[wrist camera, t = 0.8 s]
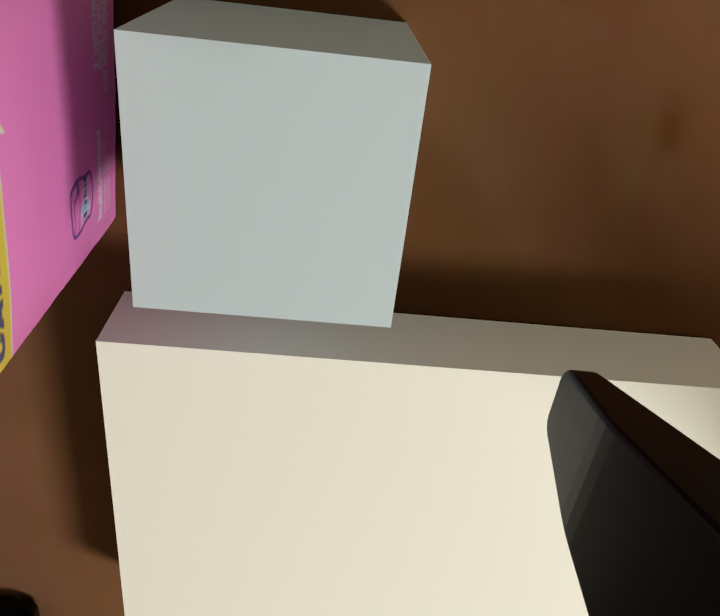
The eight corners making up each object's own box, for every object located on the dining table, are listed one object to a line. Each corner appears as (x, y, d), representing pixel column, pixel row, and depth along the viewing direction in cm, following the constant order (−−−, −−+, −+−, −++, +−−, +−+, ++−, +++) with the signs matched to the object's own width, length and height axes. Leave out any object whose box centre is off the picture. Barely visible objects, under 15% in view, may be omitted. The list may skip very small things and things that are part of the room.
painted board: (146, 575, 29) (127, 639, 26) (124, 290, 22) (95, 341, 19) (597, 598, 30) (620, 661, 28) (710, 338, 23) (756, 391, 21)
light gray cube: (185, 209, 21) (133, 306, 16) (180, -4, 18) (113, 29, 13) (379, 226, 21) (390, 327, 16) (406, 21, 18) (431, 64, 13)
